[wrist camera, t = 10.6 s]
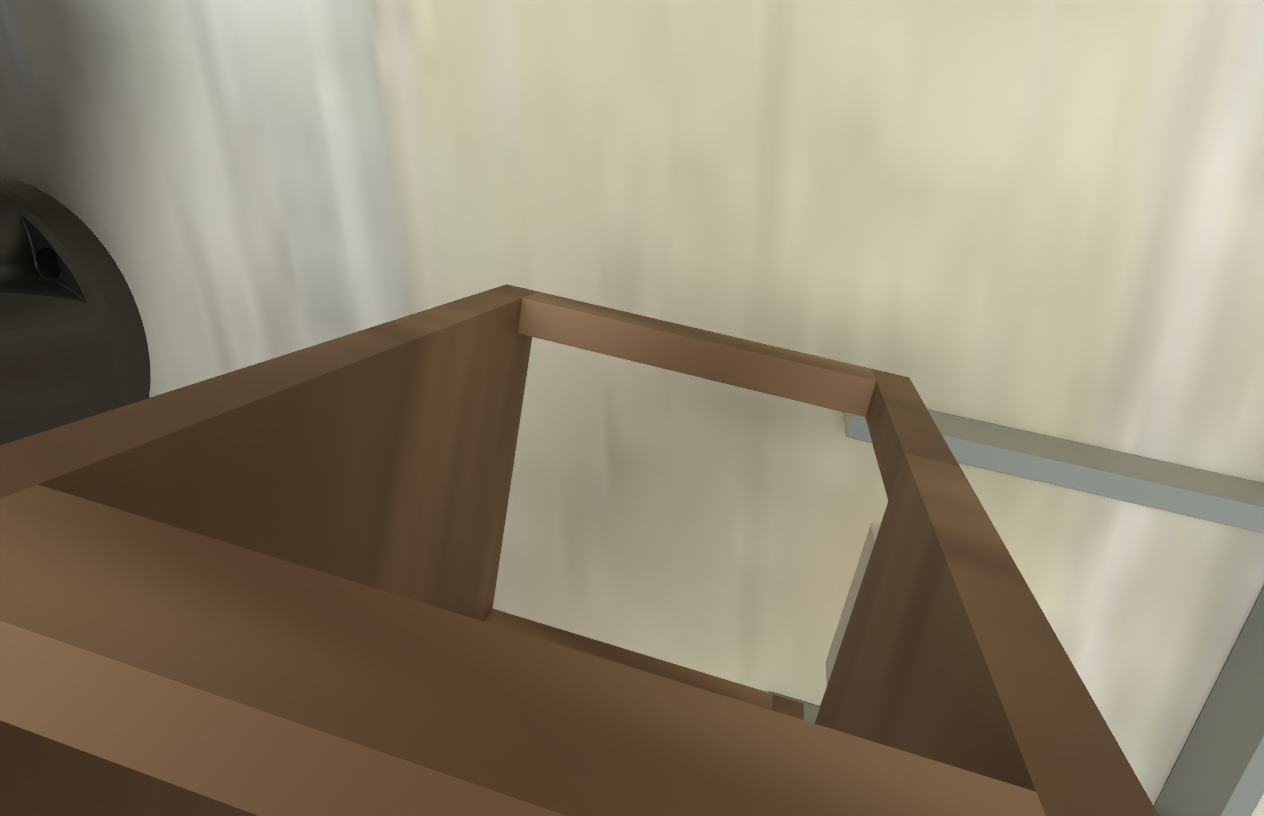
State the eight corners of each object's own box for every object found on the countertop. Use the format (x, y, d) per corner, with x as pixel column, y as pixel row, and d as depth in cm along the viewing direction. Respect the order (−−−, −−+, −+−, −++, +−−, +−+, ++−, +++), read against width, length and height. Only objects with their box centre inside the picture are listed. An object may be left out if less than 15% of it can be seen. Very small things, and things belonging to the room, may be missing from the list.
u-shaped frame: (764, 706, 32) (759, 755, 29) (849, 392, 27) (852, 414, 24) (1168, 829, 29) (1205, 897, 26) (1336, 499, 24) (1404, 538, 21)
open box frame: (462, 624, 15) (-81, 1316, 6) (507, 284, 13) (-267, 528, 4) (795, 728, 14) (782, 1769, 5) (909, 377, 12) (1303, 1070, 3)
